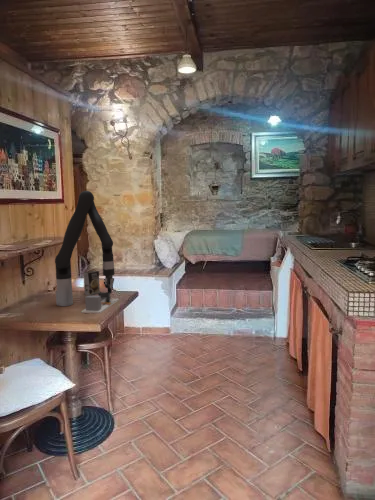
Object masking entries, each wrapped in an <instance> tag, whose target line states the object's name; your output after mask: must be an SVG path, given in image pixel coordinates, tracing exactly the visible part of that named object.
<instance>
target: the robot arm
mask: <svg viewBox="0 0 375 500" xmlns="http://www.w3.org/2000/svg"><path fill="white" fill-rule="evenodd" d="M87 216H88V217H89V219H90V222H91V224H92V226H93V229H94V230H95V233H96V235H97V236H98V238H99V241H100V243H101V252H102V256H101V257H102V275H103V276H104V281H103V284H104V286H105V289H107V292H110V295H112V292H113V291H112V290H113V289H112V288H113V286H114V282H115V278H114V277H113V276H114V275H115V261H114V260H115V259H114V253H113V246H114V241H113V239H112V237H111V235H110V233H109V232H108V229H107V227H106V224H105V222H104V221H103V219H102V216H101V215H100V213H99V211H98V210H97V206H96V203H95V196H94V194H93V193H92V192H91V191H89V190H83V191H81V192H80V193H79V195H78V199H77V204H76V207H75V210H74V212H73V214H72V216H71V218H70V219H69V222H68V224H67V226H66V229H65V232H64V236H63V241H62V244H61V246H60V250H59V252H58V253H57V255H55V259H54V264H55V281H56V283H55V284H56V290H55V300H56V301H55V302H56V306H58V307H68V306H72V305H73V304H74V299H73V297H74V296H73V283H72V265H71V264H72V262H71V259H72V255H73V252H74V249H75V247H76V246H77V244H78V241H79V239H80V237H81V235H82V232H83V229H84V227H85V223H86V219H87Z"/></svg>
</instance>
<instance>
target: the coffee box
mask: <svg viewBox="0 0 375 500" xmlns="http://www.w3.org/2000/svg"><path fill="white" fill-rule="evenodd" d="M83 283H84V284H83V287H84V295H86V296H95V295H97V294H98V293H99V292H101V289H100V288H101V287H100V286H101V285H100V271H98V270H89V271H84V272H83Z"/></svg>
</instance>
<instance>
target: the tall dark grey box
mask: <svg viewBox="0 0 375 500" xmlns="http://www.w3.org/2000/svg"><path fill="white" fill-rule="evenodd" d="M97 296H101V306H102V305H104V304H105V303H106V304H111V302H110V298H111V294H110V292H108V291H107V292H106V291H105V292H104V291H103V292H102V291H100V292H99V293H98V295H97Z"/></svg>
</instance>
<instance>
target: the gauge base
mask: <svg viewBox="0 0 375 500" xmlns="http://www.w3.org/2000/svg"><path fill="white" fill-rule="evenodd" d="M84 301H85V308H84V309H82V310H81V311H80V312H81V314H102V313H103V312H105V311H106V310H107V309H109V308H110V307H112V306H113V305H114V304H116V303H117V302H119V301H120V299H119V298H113V297H112V298H111V297H110V302H111V304H106V303H105V304H104V305H102V306H101V296H98V295H86V296H85V297H84Z"/></svg>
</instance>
